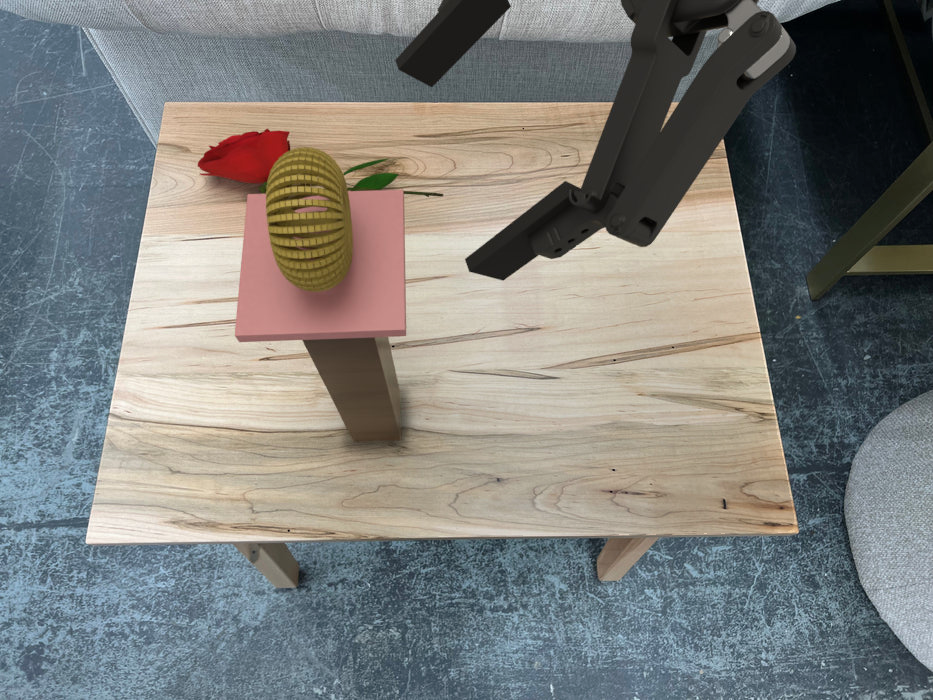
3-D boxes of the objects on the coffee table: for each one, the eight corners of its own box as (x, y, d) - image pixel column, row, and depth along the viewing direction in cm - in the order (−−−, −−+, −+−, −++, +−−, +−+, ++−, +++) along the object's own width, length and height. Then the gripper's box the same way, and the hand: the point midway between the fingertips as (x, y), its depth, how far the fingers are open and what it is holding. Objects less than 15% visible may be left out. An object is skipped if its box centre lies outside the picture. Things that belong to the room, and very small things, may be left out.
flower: (442, 135, 73) (180, 111, 77) (432, 224, 74) (173, 196, 78) (455, 153, 82) (220, 131, 86) (446, 232, 83) (213, 207, 87)
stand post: (401, 439, 72) (365, 301, 42) (353, 441, 72) (283, 303, 42) (400, 394, 74) (366, 232, 44) (354, 396, 73) (287, 234, 44)
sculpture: (358, 313, 41) (337, 241, 33) (290, 317, 41) (254, 246, 33) (355, 201, 44) (335, 113, 36) (292, 205, 44) (259, 117, 36)
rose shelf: (406, 336, 41) (405, 329, 40) (239, 342, 41) (234, 335, 40) (404, 198, 45) (403, 189, 44) (251, 202, 45) (247, 193, 44)
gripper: (1033, 105, 24) (563, 374, 36) (724, -286, 33) (432, 32, 45) (1020, 4, 18) (468, 363, 30) (652, -433, 27) (340, -25, 39)
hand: (446, 166), depth 37 cm, fingers open, 13 cm apart
